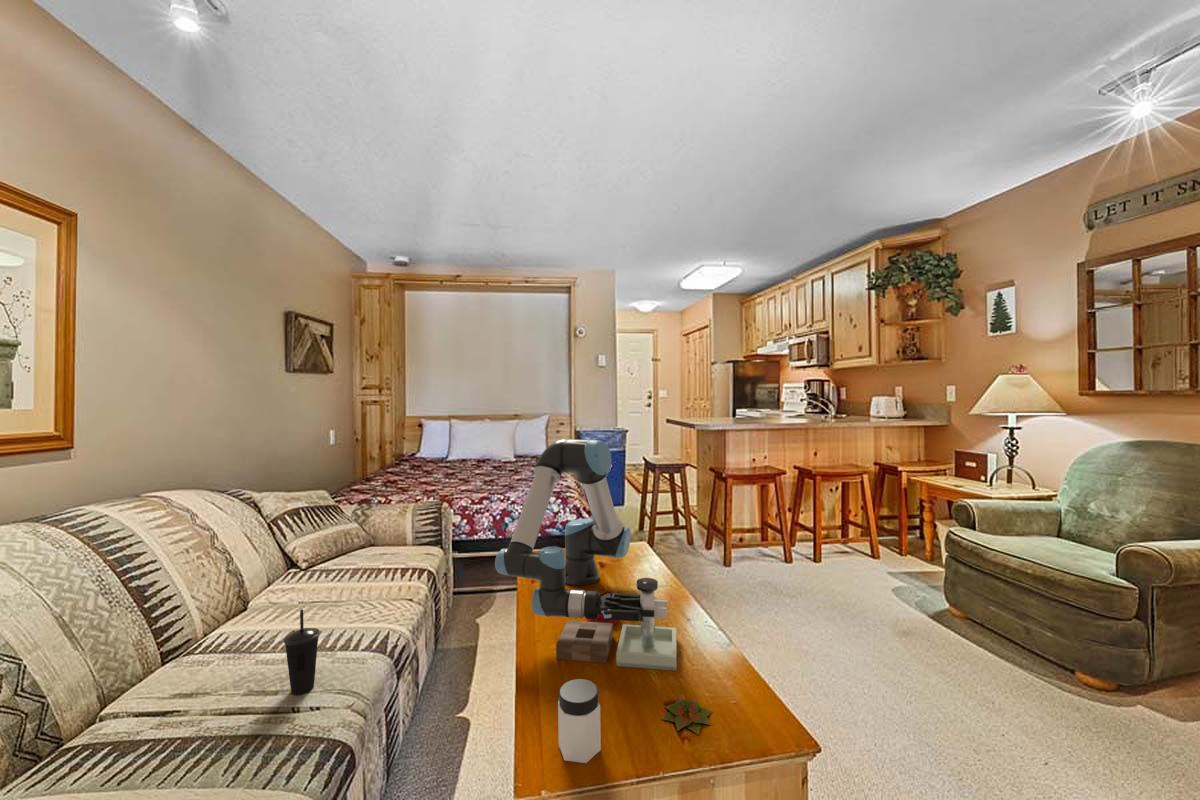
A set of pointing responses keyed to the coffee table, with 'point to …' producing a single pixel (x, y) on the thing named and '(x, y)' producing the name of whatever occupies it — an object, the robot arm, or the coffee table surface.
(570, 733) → the jar
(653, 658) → the sage tray
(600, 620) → the alarm clock
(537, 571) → the robot arm
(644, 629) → the steel pin
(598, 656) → the brown square frame
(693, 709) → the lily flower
